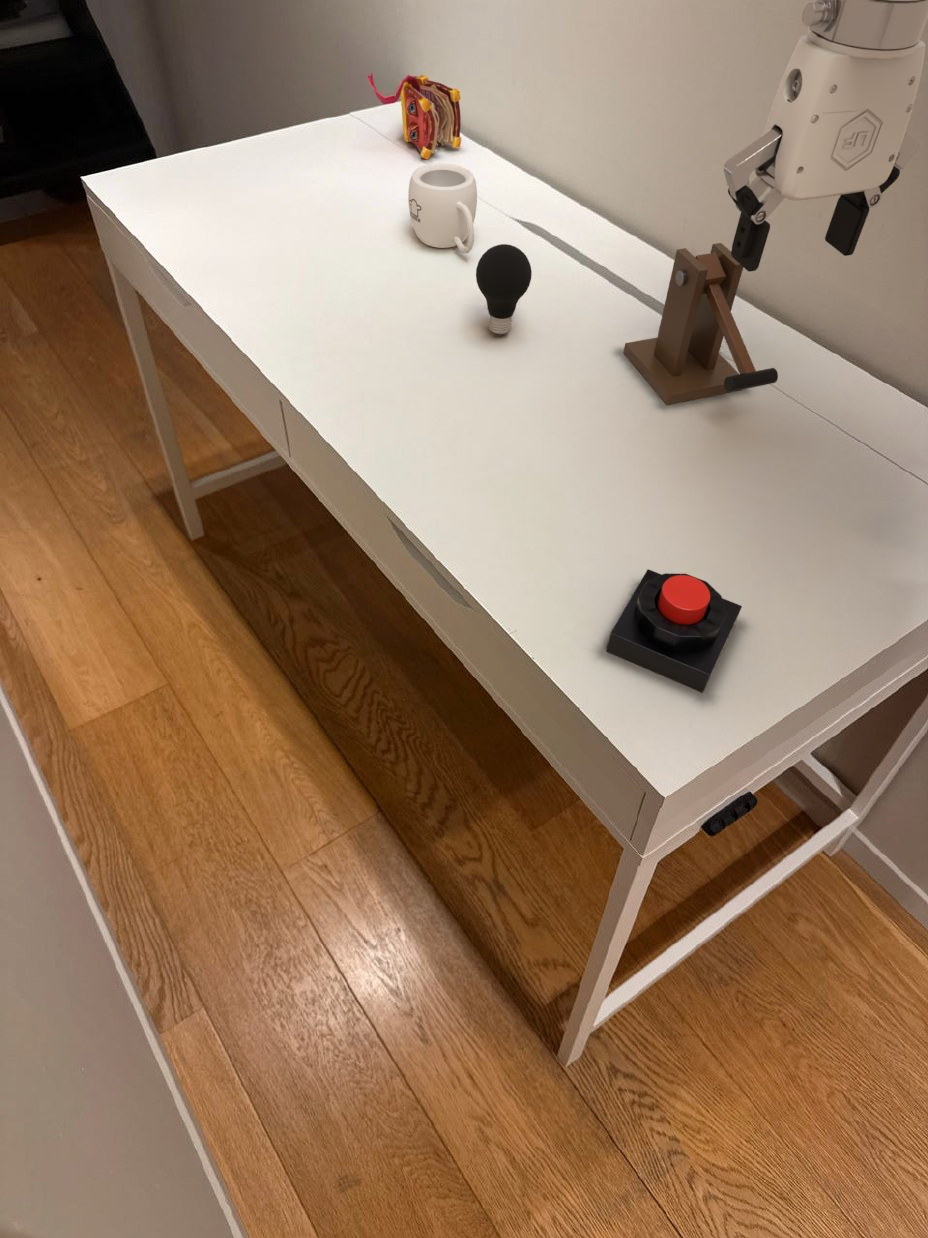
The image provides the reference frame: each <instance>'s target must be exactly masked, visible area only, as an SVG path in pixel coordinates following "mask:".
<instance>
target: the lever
mask: <svg viewBox="0 0 928 1238" xmlns="http://www.w3.org/2000/svg"><path fill="white" fill-rule="evenodd" d="M694 257H695V258H696V259H697V260H698V261H700V262H701V263H702V264H703V265H704V266H705V267H706V268H707V269H708V272H707V276H706V280H705V284H704V288H703V292H702V294H706V295H707V298H708V300H709V302H710V305H711V307H712V309H713V312H714V314H715V317H716V319H717V321H718V324H719V326H720V328H721V331H722V333H723V336H724V337H723V339H724V341H725V343H726V345H727V347H728V350H729V352H730V354H731V356H732V359H733V361H734V364H735V366H736V369H737V372H738V373H739V375H733V376H728V377H726V378H725V380H724V387H725V390H726V391H727V393H732V392H737V391H743V390H746V389H751V388H757V387H762V386H766V385H773V384H775V383H777V382H778V379H779V378H778V377H779V374H778V370H777V369H776V368H775V367H770V368H764V369H760V370H756V368H755V366H754V365H755V364H754V363H753V361H752V358H751V356H750V354H749V351H748V349H747V347H746V344H745V342H744V340H743V339H744V338H743V337H742V335H741V333H740V330H739V328H738V325H737V323H736V321H735V318H734V316H733V314H732V310H731V311H730V309H729V307H728V304H727V302H726V300H725V297H724V295H723V293H722V290H721V288H720V285H721V283H722V282H723V280H724V279H725V277H726V275H725V273H724V270H723V268H722V266H721V263H720V261H719V259H718V256H717V254H716V253H711V252H710V253H704V254H698V255H695V256H694Z"/></svg>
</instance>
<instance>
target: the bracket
mask: <svg viewBox="0 0 928 1238" xmlns="http://www.w3.org/2000/svg"><path fill="white" fill-rule="evenodd" d="M710 253H716V254H717V256H718V259H719V261H720V263H721V266H722V268H723V270H724V273H725V275H726V277H725V279H724V280H723V282H722V283H721V285H720V288H721V290H722V293H723V295H724V297H725V300H726V302H727V304H728V307H729V309H730V311H731V312H732V309H733V305H734V301H735V300H736V299H735V298H736V295H737V292H738V287H739V284H740V281H741V278H742V274H743V270H744V267H743V266H742V265H741V264H740V263H738V262H737V261H736V260H735V259H734V258H733V257H732V255H731V250H730V249H729V248H728V247H726V246H725V244H723V243H722V242H718V243H712V245H711V249H710ZM695 257H696V256H694V255H693V254H692V253H691V252H690V251H689V250H688V249H687V248H686V247H685V248H678V249H676V252H675V256H674V260H673V265H672V270H671V275H670V278H669V279H670V280H669V284H668V289H667V293H666V297H665V302H664V306H663V310H662V314H661V319H660V323H659V329H658V333H657V337H653V338H646V339H640V340H635V341H629V342H625V343H624V346H623V354H624V355H625V357H626V358H627V359H628V360H629V362H630V363H631V364H632V365H633V366H634V368H635V369H636V370H637V371H638V373H640V375H641V376H642V377H643V378H644V379H645V380H646V381H647V383H648V384H649V385H650V386H651V388H652V389H653V391H655V392H656V394H657V395H658V396H659V398H660V399H662V401H663V402H664V404H665V405H673V404H677V403H683V402H687V401H692V400H697V399H702V398H706V397H712V396H718V395H722V394H727V393H728V392H727V391H726V390H725V387H724V380H725V378H726V377H728V376H733V375H739V374H740V373H739V371H738V370H736V369H735V368H734V366H732V365H731V363H729V362H728V361H727V360H726V358H725V357H724V356H723V355H722V354H721V353H720V351H721V347H722V345H723V341H724V336H723V333H722V331H721V328H720V326H719V324H718V321H717V319H716V317H715V314H714V312H713V309H712V307H711V305H710V302H709V300H708V298H707V295H706V294H702V292H703V288H704V284H705V280H706V276H707V272H708V269H707V268H706V267H705V266H704V265H703V264H702V263H701V262H700V261H698V260H697V259H696V258H695Z"/></svg>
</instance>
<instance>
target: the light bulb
mask: <svg viewBox="0 0 928 1238" xmlns="http://www.w3.org/2000/svg"><path fill="white" fill-rule="evenodd" d="M532 275H533V274H532V266H531V263H530V260H529V258H528V256H527V255H526V253H525V252H523V251H522V250H521V249H520V248H518V247H517V246H515V245H512V244H507V243H503V244H502V243H501V244H497V245H494V246H491V247H490V248H488V249H487V250H485V252H484V253H482V255H481V256H480V258H479V260H478V262H477V266H476V268H475V279H476V280H475V281H476V284H477V287H478V289H479V292H481V294H482V295H483V297H484V298H485V302H486V306H487V307H486V308H487V311H488V315H489V317H488V319H489V321H488V322H489V323H488V329H489V330H490V331H491V332H492V333H494V334H495V335H497V336H500V337H501V336H503V335H505V334H507V333H509V332H510V330H511V329H512V322H513V315H514V313H515V311H516V308H517V304H518V302H519V301H520V299H521V298H522V297H523V296H524V295H525V294H526V293H527V291H528V289H529V288H530V284H531V281H532Z"/></svg>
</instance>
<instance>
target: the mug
mask: <svg viewBox="0 0 928 1238" xmlns="http://www.w3.org/2000/svg"><path fill="white" fill-rule="evenodd" d="M477 188H478V187H477V181H476V178H475V176H474V173H472V171H470V170H469V169H467V168H465V167H463V166H460V165H457V164H452V163H445V162H444V163H443V162H439V163H438V162H437V163H432V164H426V165H423V166H420V167H418V168H416V169H415V170H413V172H412V174H411V177H410V179H409V183H408V192H407V193H408V196H407V197H408V211H409V217H410V221H411V225H412V228H413V230H414V232H415V235H416V237H417V238H418V239H419V240H420V242H422V243H423V244H425V245H427V246H429V247H433V248H438V249H441V248H442V249H447V248H454V247H457V248H458V250H460V252H461V253H464V254H469V253H470V252H471V251H472V249H473V247H474V241H475V228H474V224H475V223H474V222H475V219H476V215H477V214H476V213H477V206H478V189H477ZM465 240H467V243H466V246H465V245H464V242H465Z"/></svg>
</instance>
